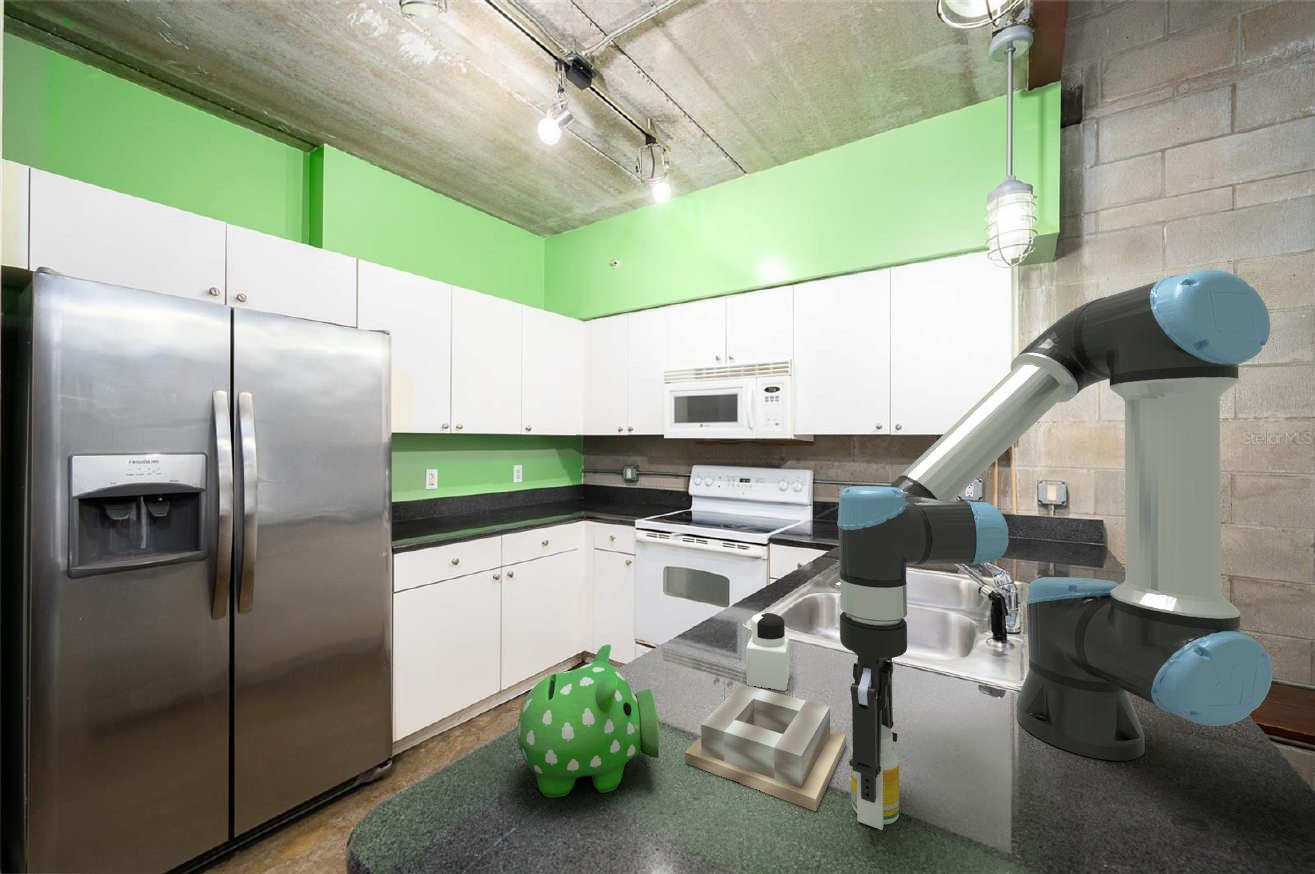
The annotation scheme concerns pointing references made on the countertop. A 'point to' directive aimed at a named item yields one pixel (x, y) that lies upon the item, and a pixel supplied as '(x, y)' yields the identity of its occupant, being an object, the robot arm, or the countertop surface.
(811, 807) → the block
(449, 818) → the countertop surface
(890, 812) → the supplement bottle
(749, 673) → the medicine bottle
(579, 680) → the piggy bank
